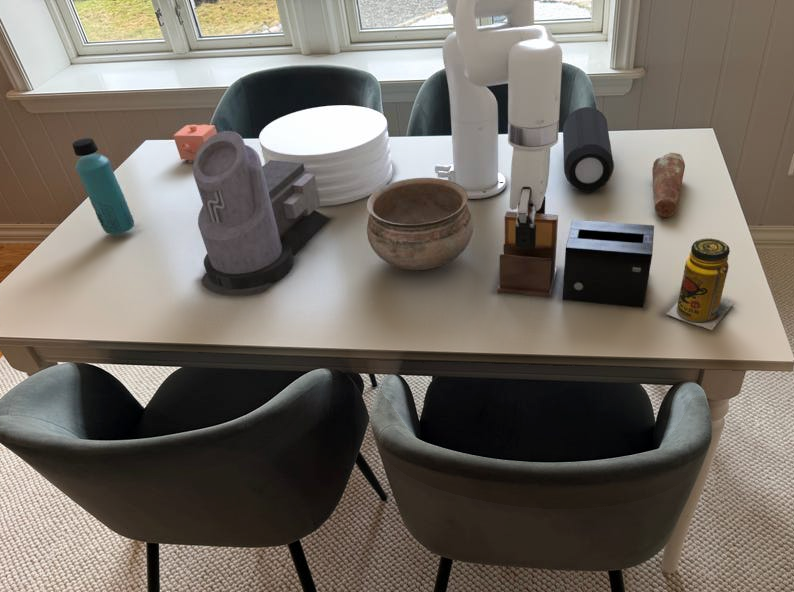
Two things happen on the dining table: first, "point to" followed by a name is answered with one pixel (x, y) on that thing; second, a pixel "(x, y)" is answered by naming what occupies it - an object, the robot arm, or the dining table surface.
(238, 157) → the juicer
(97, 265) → the dining table surface
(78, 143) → the beverage bottle
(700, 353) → the dining table surface
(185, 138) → the pink cube teapot
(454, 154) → the robot arm
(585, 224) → the toaster
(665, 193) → the reddish-brown tapered rod
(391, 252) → the cooking pot
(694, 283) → the condiment
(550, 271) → the rack
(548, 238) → the toast
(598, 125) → the portable speaker
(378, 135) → the plate stack
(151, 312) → the dining table surface
